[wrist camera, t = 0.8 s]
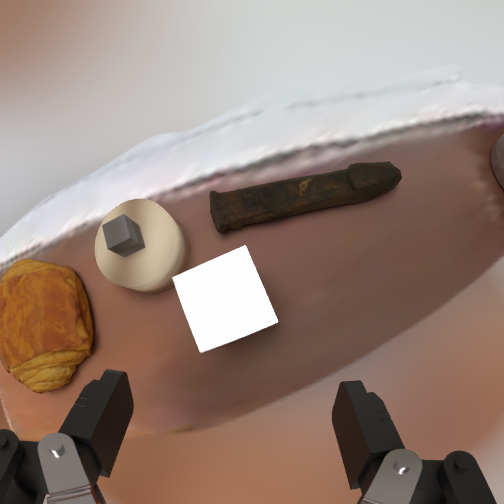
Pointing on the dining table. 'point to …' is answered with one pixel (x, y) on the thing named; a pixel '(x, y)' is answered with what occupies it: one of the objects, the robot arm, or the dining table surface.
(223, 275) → the light grey block
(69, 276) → the croissant
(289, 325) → the dining table surface
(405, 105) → the dining table surface
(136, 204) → the cream rounded block
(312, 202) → the hand tool
